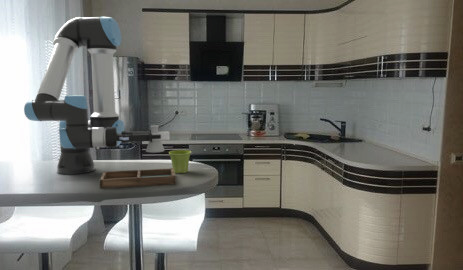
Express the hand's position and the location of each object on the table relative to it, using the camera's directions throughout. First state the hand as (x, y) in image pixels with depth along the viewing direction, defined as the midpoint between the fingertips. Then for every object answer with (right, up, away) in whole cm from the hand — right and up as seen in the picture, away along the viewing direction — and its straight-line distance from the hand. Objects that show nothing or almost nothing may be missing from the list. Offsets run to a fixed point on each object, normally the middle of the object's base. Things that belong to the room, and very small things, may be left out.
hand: (169, 135), depth 146 cm
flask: (-5, -6, 0) cm, 8 cm away
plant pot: (+2, -16, +16) cm, 23 cm away
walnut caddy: (-12, -18, 0) cm, 21 cm away
